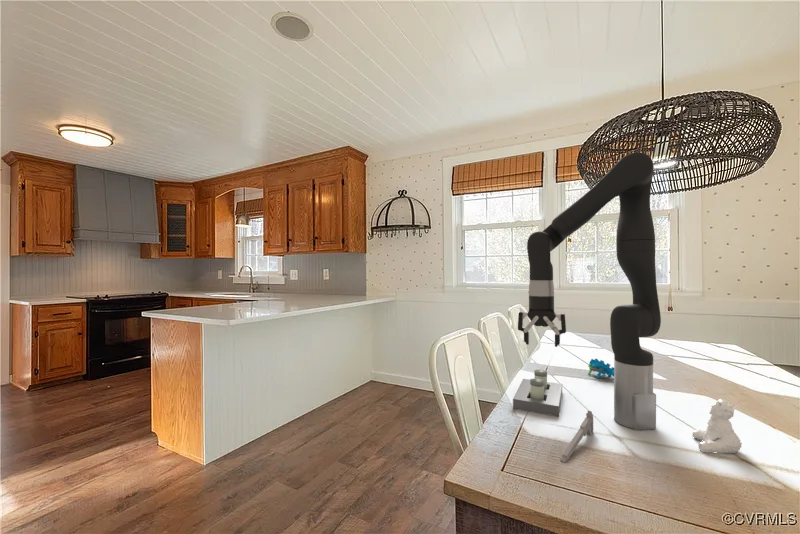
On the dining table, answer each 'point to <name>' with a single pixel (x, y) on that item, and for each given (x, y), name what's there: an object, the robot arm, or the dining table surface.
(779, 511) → the dining table surface
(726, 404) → the white creature statuette
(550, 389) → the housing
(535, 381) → the pale green canister
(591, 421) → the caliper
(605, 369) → the blue spiky dinosaur toy
